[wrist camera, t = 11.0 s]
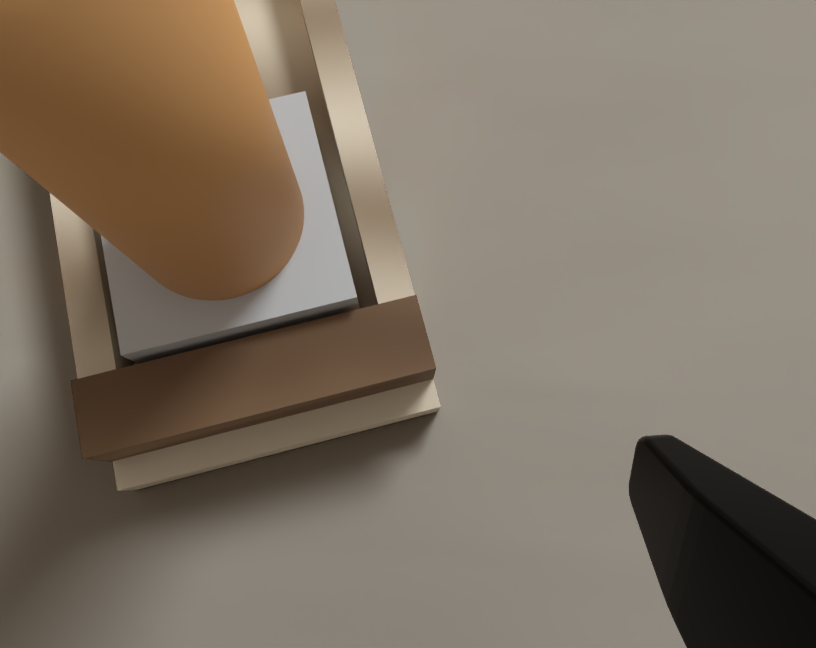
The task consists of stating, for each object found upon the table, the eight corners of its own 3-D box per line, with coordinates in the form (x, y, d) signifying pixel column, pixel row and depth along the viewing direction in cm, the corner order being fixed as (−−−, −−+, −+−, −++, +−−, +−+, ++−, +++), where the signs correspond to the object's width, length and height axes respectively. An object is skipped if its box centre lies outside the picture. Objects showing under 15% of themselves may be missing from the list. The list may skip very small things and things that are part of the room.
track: (438, 411, 20) (444, 398, 17) (134, 490, 19) (86, 491, 17) (296, -119, 24) (281, -201, 21) (43, -67, 24) (-8, -144, 21)
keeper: (362, 316, 19) (289, 22, 7) (150, 368, 19) (-317, 155, 7) (314, 128, 20) (185, -393, 8) (115, 174, 20) (-325, -302, 8)
